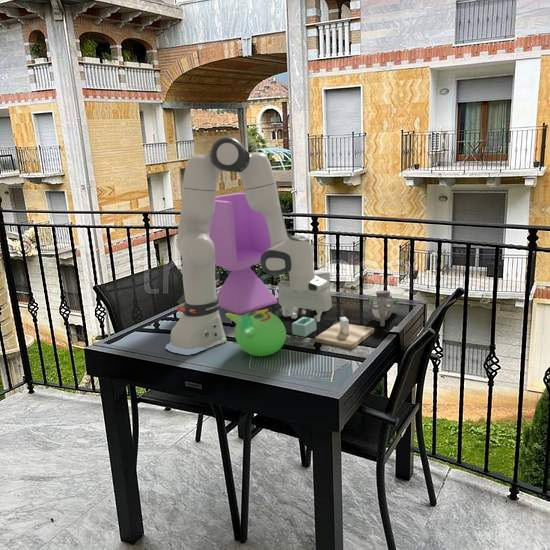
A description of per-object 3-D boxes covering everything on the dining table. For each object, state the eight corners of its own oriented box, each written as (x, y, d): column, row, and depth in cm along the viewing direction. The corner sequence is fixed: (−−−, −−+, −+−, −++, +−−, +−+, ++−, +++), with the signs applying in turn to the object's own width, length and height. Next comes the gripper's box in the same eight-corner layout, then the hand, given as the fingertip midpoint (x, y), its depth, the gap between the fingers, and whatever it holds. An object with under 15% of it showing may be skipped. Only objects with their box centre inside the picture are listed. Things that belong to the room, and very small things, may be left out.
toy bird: (297, 355, 171) (294, 311, 167) (249, 370, 163) (245, 324, 159) (269, 338, 186) (266, 298, 182) (225, 351, 178) (220, 309, 174)
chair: (236, 317, 210) (225, 202, 198) (208, 304, 228) (196, 199, 216) (282, 303, 223) (274, 194, 211) (251, 292, 240) (242, 191, 228)
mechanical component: (370, 322, 194) (369, 296, 191) (398, 325, 189) (397, 298, 186) (367, 325, 191) (366, 298, 189) (395, 328, 186) (394, 301, 183)
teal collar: (305, 336, 185) (304, 325, 184) (292, 334, 188) (291, 322, 187) (316, 329, 191) (315, 318, 190) (303, 327, 194) (303, 316, 193)
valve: (277, 316, 208) (299, 323, 199) (276, 300, 206) (298, 306, 197) (289, 311, 212) (311, 318, 203) (288, 295, 210) (310, 301, 201)
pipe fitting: (389, 322, 191) (388, 294, 190) (368, 321, 196) (367, 293, 194) (402, 315, 201) (401, 288, 199) (382, 314, 205) (381, 288, 204)
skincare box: (312, 311, 210) (309, 274, 206) (307, 306, 216) (304, 271, 212) (332, 307, 212) (330, 271, 208) (326, 303, 218) (324, 268, 214)
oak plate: (352, 349, 172) (352, 344, 172) (315, 341, 180) (314, 337, 180) (374, 332, 185) (373, 328, 184) (338, 326, 193) (338, 322, 192)
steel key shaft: (349, 334, 180) (348, 320, 179) (343, 335, 180) (342, 321, 179) (345, 330, 184) (345, 316, 183) (340, 331, 184) (339, 317, 182)
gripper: (272, 282, 189) (276, 318, 192) (323, 287, 177) (326, 326, 181) (282, 277, 194) (286, 313, 197) (332, 281, 182) (335, 319, 186)
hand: (305, 319), depth 189 cm, fingers open, 8 cm apart
